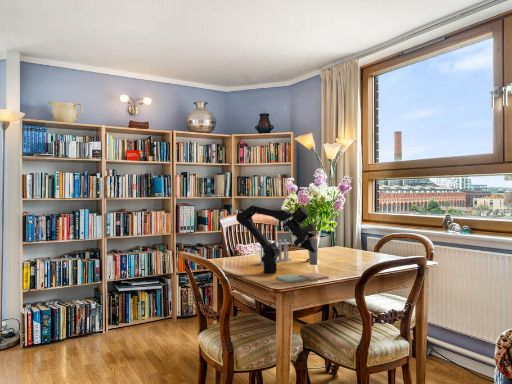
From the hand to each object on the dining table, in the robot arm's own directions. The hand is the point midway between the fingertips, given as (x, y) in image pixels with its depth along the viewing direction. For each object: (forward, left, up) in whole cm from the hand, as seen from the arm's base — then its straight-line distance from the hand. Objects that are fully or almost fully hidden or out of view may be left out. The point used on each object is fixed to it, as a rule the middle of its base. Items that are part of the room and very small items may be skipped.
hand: (315, 251), depth 203 cm
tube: (-1, +1, -7) cm, 7 cm away
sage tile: (-13, -4, -13) cm, 19 cm away
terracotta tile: (-1, +1, -13) cm, 13 cm away
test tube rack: (-19, +43, -14) cm, 49 cm away
